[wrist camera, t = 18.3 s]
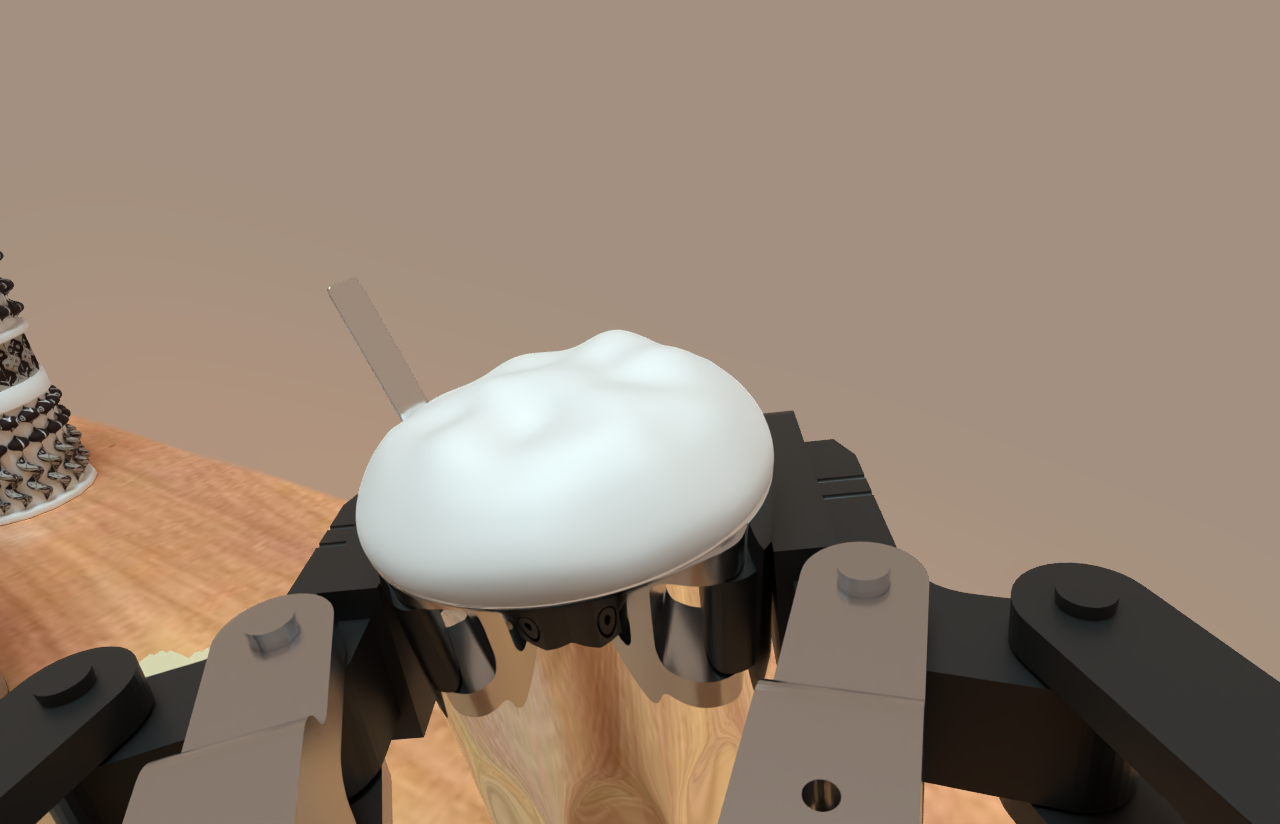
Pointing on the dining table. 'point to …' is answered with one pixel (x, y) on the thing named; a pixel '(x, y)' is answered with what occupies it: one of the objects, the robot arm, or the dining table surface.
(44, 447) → the decorative candle
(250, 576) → the dining table surface
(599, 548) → the milkshake
